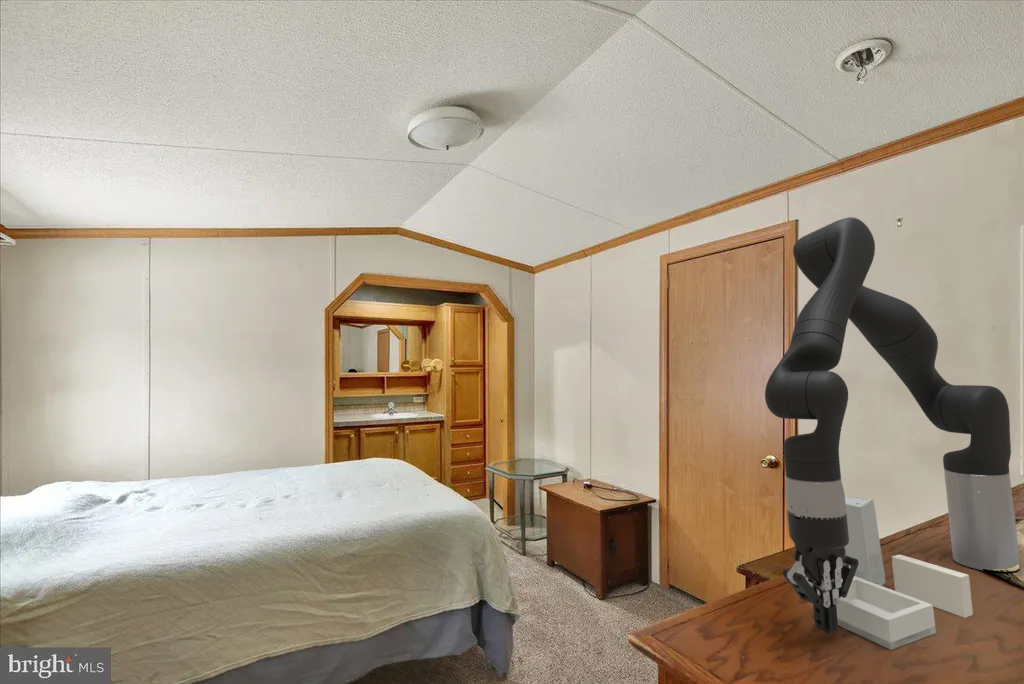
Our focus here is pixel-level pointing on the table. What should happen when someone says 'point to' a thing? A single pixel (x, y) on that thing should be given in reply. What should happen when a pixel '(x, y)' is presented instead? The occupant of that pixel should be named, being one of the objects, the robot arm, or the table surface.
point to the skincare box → (864, 539)
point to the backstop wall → (933, 585)
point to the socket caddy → (884, 614)
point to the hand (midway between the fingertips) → (826, 629)
